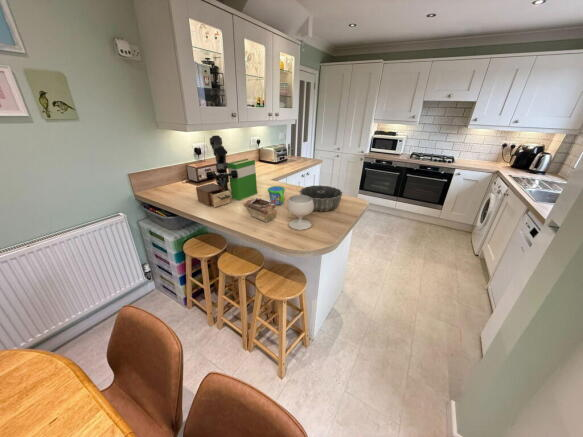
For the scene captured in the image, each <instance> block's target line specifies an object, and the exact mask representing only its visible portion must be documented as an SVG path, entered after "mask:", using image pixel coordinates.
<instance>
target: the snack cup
mask: <svg viewBox="0 0 583 437" xmlns="http://www.w3.org/2000/svg"><path fill="white" fill-rule="evenodd" d="M285 190H286V188H285V187H284V186H280V185H273V186H270V187H268V188H267V192H268V196H269V201H271V203H272V204H275V206H281V205H282V204H283V202H285V197H284V194H285Z"/></svg>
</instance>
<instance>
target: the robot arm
mask: <svg viewBox="0 0 583 437" xmlns="http://www.w3.org/2000/svg"><path fill="white" fill-rule="evenodd" d="M209 145H210V147H211V150H212V152H213V156H214V157H215V162H216V172H215V173H214V172H213V171H206V172H205V176H206V179H207V181H210V180H211V181H213V180H215V182H216V183H215V184H217V185H220V186H222V187H225V190H226V191H229V192H230V189H229V186H228V183H230V179H229V176H232V178H238V173H237V170H231V173H229V172H228V163H229V162H227V154H228V151H227V150H226V148H225V147H224V145H223V138H222V137H220V135H212V136H211V137H209Z"/></svg>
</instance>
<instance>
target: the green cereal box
mask: <svg viewBox="0 0 583 437" xmlns="http://www.w3.org/2000/svg"><path fill="white" fill-rule="evenodd" d="M227 163H228V168H227V172H228V173H231V170H237V173H238V178H232V176H229V187H230V194H231V195H230V196H231V199H234V200H237V201H241V200H244V199H246V198H248V197H251V196H253V195H256V194H258V185H257V172H256V160H255V159H252V160H249V159H248V158H244V159H240V160H236V161H232V162H227Z"/></svg>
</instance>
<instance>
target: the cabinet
mask: <svg viewBox="0 0 583 437" xmlns="http://www.w3.org/2000/svg"><path fill="white" fill-rule="evenodd" d="M222 189H223V190H225V187H222V186H220V185H218V184H217V183H214V182H211V183H207V184H203V185H199V186H196V187H195V192H196V196H197V200H198V202H199V203H201V204H204V205H206V206H207V207H214V205H212V204H210V198H209V193H211V192H215V191H218V190H222Z"/></svg>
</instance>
